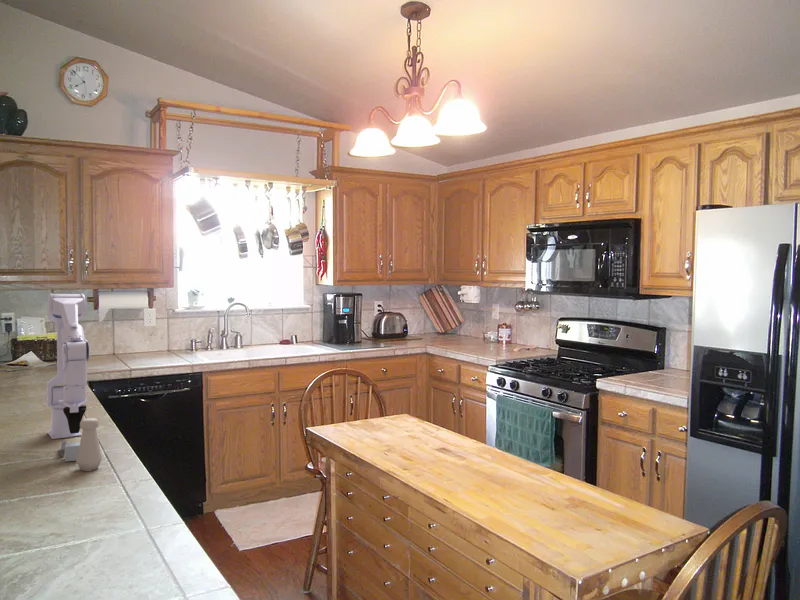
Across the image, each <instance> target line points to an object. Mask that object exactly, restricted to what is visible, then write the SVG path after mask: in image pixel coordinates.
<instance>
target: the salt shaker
mask: <svg viewBox="0 0 800 600" xmlns="http://www.w3.org/2000/svg"><path fill="white" fill-rule="evenodd" d="M99 421H100V420H99V419H97V418H95V417H88V418H86V417H85V418H84V419H83V418H82V420H81V422H80V430H82V431H81V434H82V435H81V436H80V437H81V438H80V441H79V442H80V446H79V450H78V455H77V460H76V464H77V465H78V468H79V471H81V470H82V472H89V470H91V471H94V470H97V469H99V467H100V464H101V462H102V459H103V457H102V452H101V446H100V442H99V436H98V431H97V428H98V427H99V425H100V423H99ZM96 468H97V469H96Z"/></svg>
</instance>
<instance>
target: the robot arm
mask: <svg viewBox="0 0 800 600" xmlns="http://www.w3.org/2000/svg"><path fill="white" fill-rule="evenodd" d="M86 305H87V304H86V296H85V294H84V293H50V292H49V294H48V295H47V317H48V320H49V321H51V322H53V323H55V327H56V360H57V361H56V369H57V370H56V371H57V372H56V373H57V374H56V375H55V376H53V377H52V378H51V379H49V380H48V381H47V384H46V393H45V394H46V395H45V398H46V399H45V400H46V405H47V406H48V407H51V413H50V430H47V434H48V436H49V437H50V438H51V439H52V440H56V439H62V438H64V439H65V438H71V437H81V436H82V432H80V430H81V428H80V422H81V420H83V417H84V415H85V413H86V411H87V405H85V404H87V403H88V399H87V396H88V395H87V393H88V389H87V388H88V387H87V385H88V362H89V360H90V355H91V353H90V352H91V350H90V344H89V340H88V339H86V336H85V330H84V328H83V326H82V325H81V324H79V321H81V320H83V316H84V314H85V312H86Z"/></svg>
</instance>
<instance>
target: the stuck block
mask: <svg viewBox="0 0 800 600" xmlns="http://www.w3.org/2000/svg"><path fill="white" fill-rule="evenodd" d="M79 446H80V441H73V442H72V441H71V442H66V445H65V457H64V462H75V461H76V460H77V455H78V450H79Z"/></svg>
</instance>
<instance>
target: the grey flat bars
mask: <svg viewBox="0 0 800 600" xmlns="http://www.w3.org/2000/svg"><path fill="white" fill-rule="evenodd" d="M66 443H67V441H66V440H64V441H61V446H60V449H59V450H60V452H59V454H60V455H59V457H60V458H64V457H63V456H65V445H66Z"/></svg>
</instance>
